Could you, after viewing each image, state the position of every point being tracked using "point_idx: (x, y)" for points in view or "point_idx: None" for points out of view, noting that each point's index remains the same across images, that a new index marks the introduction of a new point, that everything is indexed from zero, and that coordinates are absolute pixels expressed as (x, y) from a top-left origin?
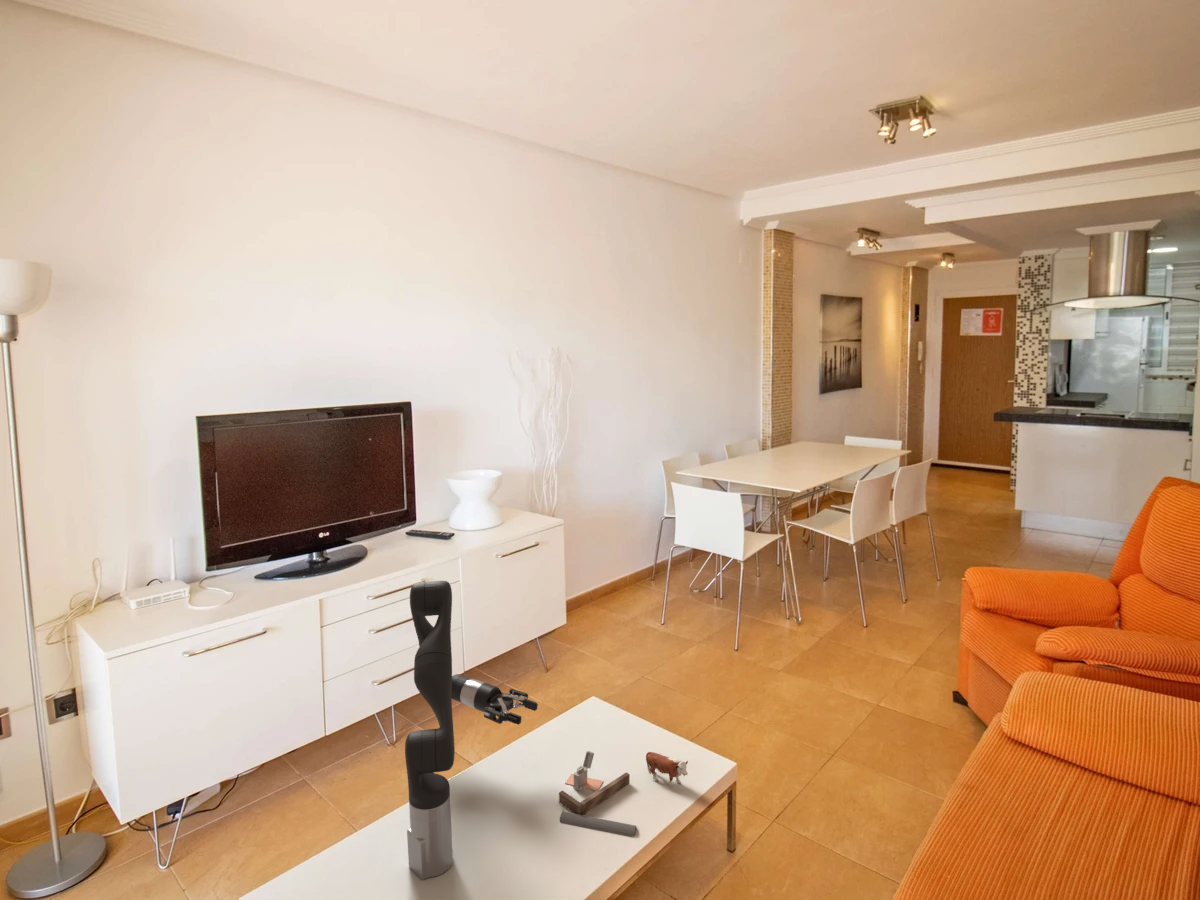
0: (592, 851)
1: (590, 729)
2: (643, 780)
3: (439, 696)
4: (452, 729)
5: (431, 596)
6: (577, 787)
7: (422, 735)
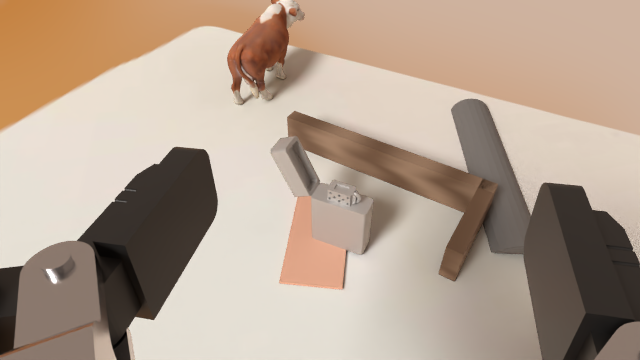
0: (589, 163)
1: None
2: (272, 116)
3: None
4: None
5: None
6: (369, 234)
7: None
